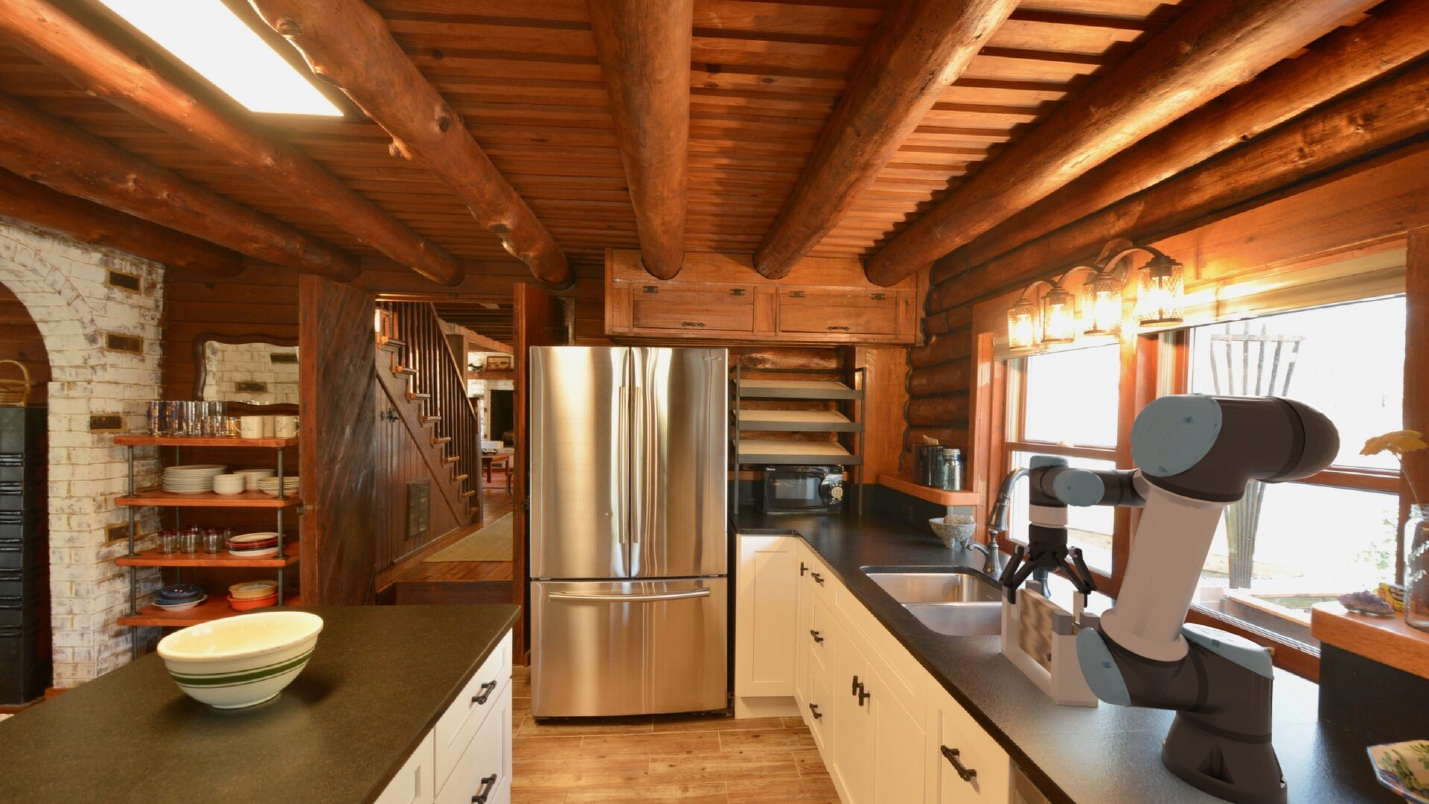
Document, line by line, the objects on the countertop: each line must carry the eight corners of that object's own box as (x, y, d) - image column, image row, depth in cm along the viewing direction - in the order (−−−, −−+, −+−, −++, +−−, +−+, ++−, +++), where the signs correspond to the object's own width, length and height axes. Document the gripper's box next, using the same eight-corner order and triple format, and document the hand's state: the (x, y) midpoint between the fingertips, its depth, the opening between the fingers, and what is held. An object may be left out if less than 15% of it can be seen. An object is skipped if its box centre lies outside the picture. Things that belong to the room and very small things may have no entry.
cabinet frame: (1098, 707, 111) (1100, 617, 112) (1057, 704, 112) (1059, 615, 112) (1034, 653, 136) (1035, 580, 136) (1000, 652, 136) (1002, 578, 137)
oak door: (1084, 692, 112) (1085, 622, 112) (1065, 691, 112) (1066, 621, 112) (1022, 641, 136) (1023, 584, 136) (1007, 641, 136) (1008, 583, 137)
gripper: (1094, 523, 128) (1094, 617, 127) (983, 519, 129) (982, 611, 128) (1116, 530, 120) (1116, 629, 119) (998, 525, 121) (997, 623, 121)
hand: (1046, 620), depth 124 cm, fingers open, 13 cm apart
